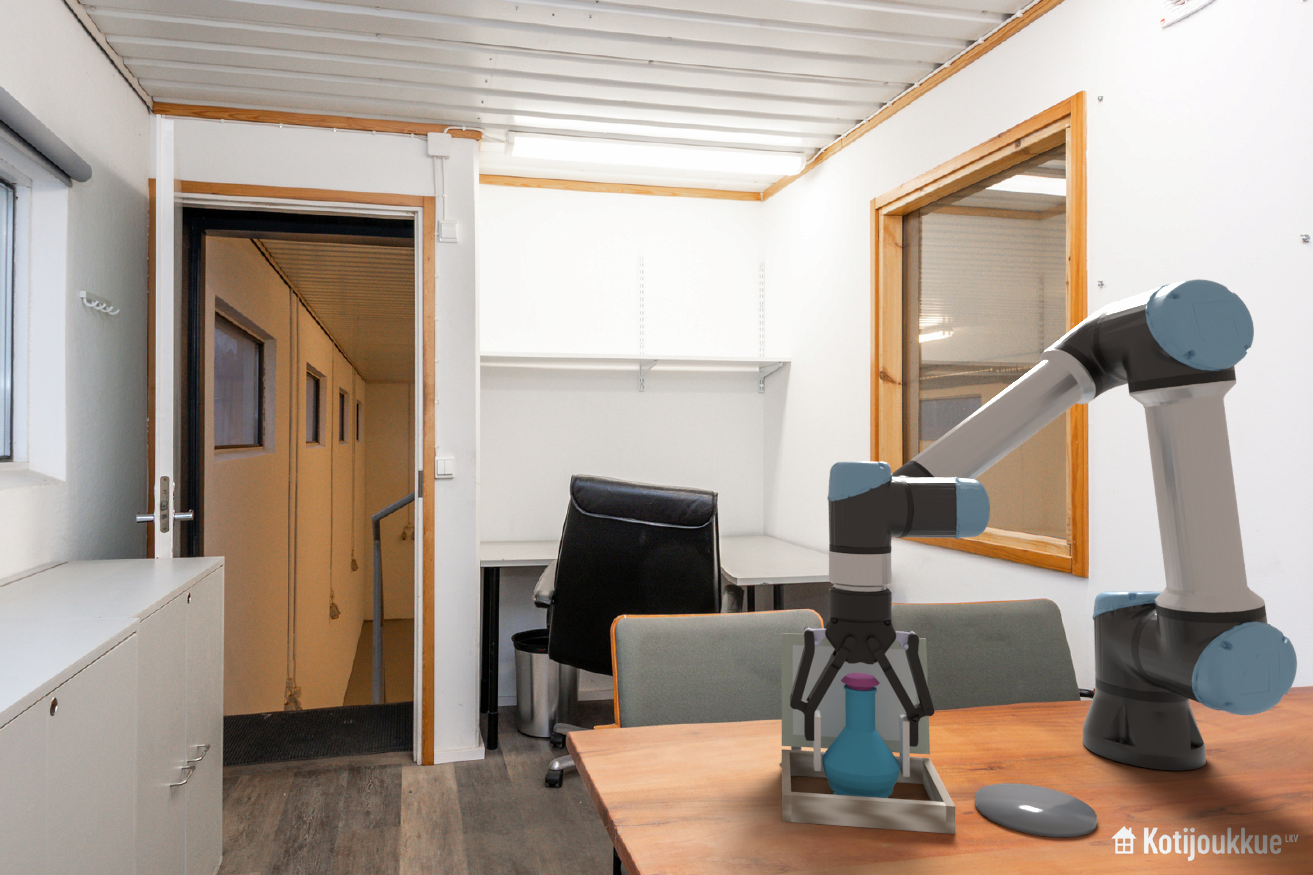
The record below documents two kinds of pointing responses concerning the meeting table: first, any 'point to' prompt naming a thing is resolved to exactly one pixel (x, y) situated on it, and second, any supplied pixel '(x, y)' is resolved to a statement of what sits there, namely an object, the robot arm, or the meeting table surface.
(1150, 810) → the meeting table surface
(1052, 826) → the saucer
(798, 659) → the lid
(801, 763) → the cold frame
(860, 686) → the perfume bottle
